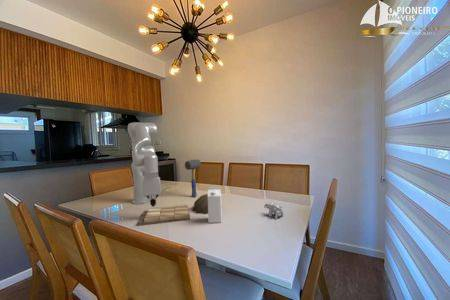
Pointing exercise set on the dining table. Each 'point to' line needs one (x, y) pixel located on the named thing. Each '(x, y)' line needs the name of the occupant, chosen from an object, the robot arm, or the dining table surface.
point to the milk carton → (214, 205)
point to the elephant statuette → (274, 209)
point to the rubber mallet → (193, 173)
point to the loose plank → (154, 211)
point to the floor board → (166, 215)
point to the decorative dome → (201, 204)
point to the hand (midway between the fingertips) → (153, 205)
